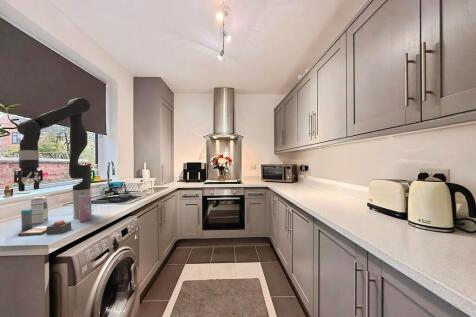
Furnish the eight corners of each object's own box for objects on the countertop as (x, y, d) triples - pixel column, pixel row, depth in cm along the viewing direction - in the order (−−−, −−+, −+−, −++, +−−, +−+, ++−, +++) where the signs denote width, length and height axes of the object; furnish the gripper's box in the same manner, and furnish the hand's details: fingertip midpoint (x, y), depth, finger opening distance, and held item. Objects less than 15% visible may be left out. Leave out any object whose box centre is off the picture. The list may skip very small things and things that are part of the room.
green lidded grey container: (25, 228, 116) (25, 209, 116) (34, 228, 117) (34, 208, 117) (19, 231, 112) (18, 211, 112) (28, 230, 112) (27, 210, 112)
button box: (56, 229, 114) (56, 222, 114) (71, 228, 115) (71, 221, 115) (46, 233, 107) (46, 226, 107) (62, 232, 108) (62, 225, 108)
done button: (57, 223, 113) (57, 220, 113) (66, 223, 113) (66, 220, 113) (52, 226, 109) (51, 222, 109) (60, 225, 109) (60, 222, 109)
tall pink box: (89, 218, 133) (89, 194, 133) (93, 220, 130) (92, 195, 130) (77, 221, 129) (77, 195, 129) (81, 222, 125) (80, 196, 125)
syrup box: (43, 222, 128) (43, 197, 128) (31, 223, 126) (30, 198, 126) (48, 219, 133) (47, 196, 133) (35, 221, 131) (35, 196, 131)
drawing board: (37, 228, 117) (37, 226, 117) (58, 226, 118) (58, 224, 118) (18, 236, 105) (18, 233, 105) (41, 234, 106) (41, 232, 106)
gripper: (33, 159, 122) (33, 189, 122) (8, 159, 108) (8, 192, 108) (47, 159, 123) (47, 188, 122) (24, 158, 109) (24, 191, 108)
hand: (29, 190), depth 115 cm, fingers open, 8 cm apart
